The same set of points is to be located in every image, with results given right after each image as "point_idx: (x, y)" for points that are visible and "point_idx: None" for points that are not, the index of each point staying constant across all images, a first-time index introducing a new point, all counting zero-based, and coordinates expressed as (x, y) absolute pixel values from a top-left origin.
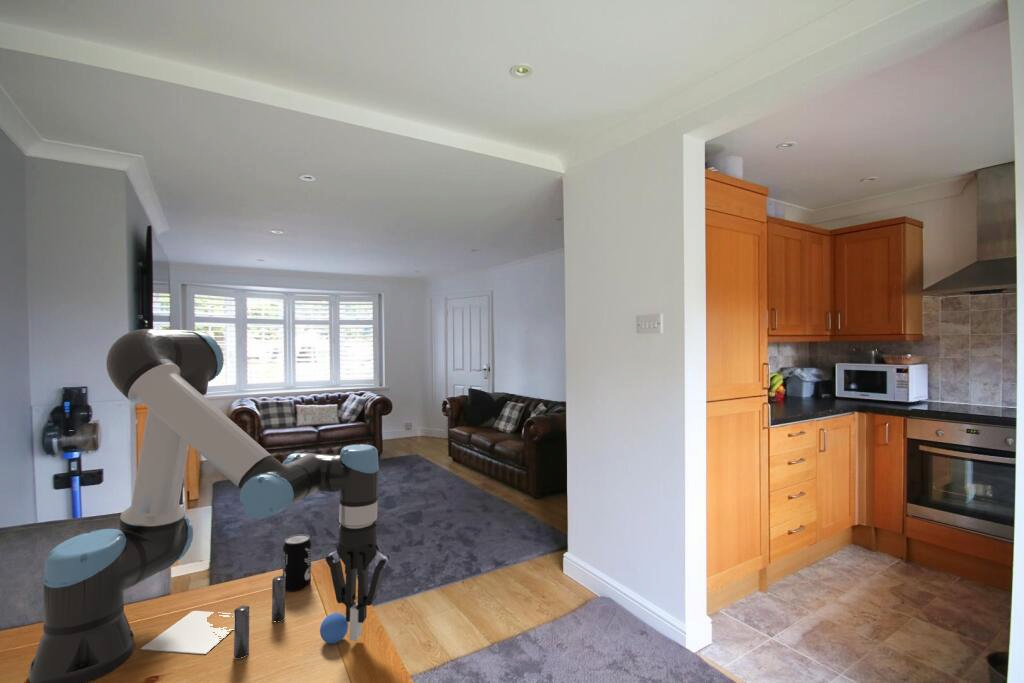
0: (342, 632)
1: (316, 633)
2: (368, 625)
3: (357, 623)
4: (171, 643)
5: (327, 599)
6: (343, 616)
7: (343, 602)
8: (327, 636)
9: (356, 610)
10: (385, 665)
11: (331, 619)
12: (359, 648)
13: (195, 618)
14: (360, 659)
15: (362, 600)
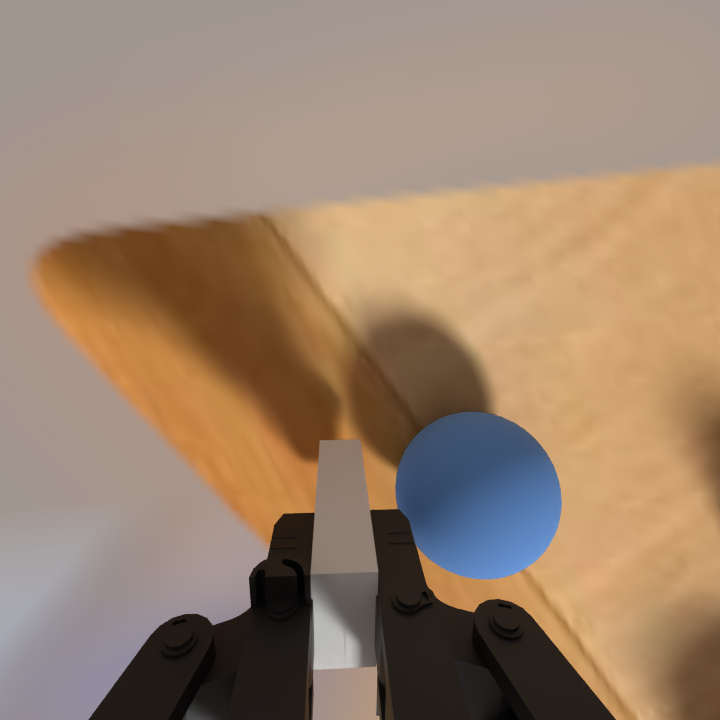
0: (408, 458)
1: None
2: None
3: (316, 501)
4: None
5: None
6: (442, 551)
7: (463, 620)
8: (482, 415)
9: (317, 562)
10: (95, 306)
11: (506, 500)
12: (301, 419)
13: None
14: (255, 338)
15: (250, 655)
